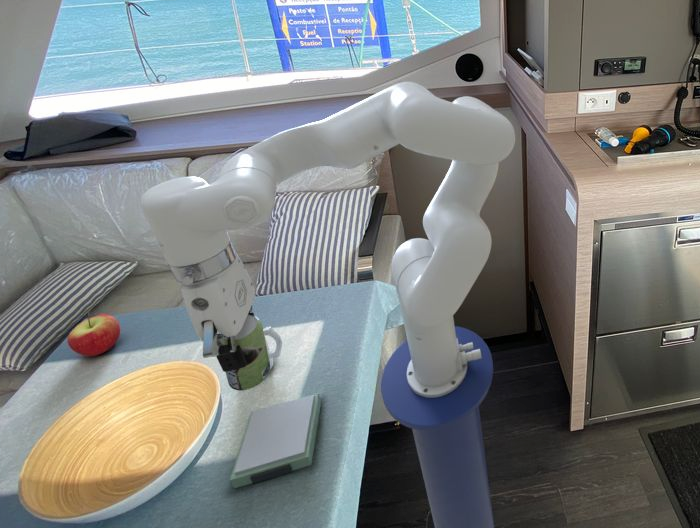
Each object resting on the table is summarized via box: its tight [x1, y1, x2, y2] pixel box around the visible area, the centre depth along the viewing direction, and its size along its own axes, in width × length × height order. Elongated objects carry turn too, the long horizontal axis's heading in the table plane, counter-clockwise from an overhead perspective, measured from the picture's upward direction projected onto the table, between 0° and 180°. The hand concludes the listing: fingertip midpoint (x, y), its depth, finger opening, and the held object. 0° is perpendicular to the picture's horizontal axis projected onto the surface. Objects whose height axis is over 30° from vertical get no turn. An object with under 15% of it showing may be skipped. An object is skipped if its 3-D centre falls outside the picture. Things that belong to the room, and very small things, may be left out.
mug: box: [254, 315, 283, 371], centre depth 87 cm, size 10×7×12 cm, turn 98°
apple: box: [67, 310, 121, 357], centre depth 95 cm, size 8×8×10 cm
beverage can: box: [218, 315, 271, 391], centre depth 67 cm, size 6×7×12 cm
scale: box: [229, 393, 322, 489], centre depth 75 cm, size 12×12×3 cm
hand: (242, 349), depth 67 cm, fingers closed on beverage can, 6 cm apart
